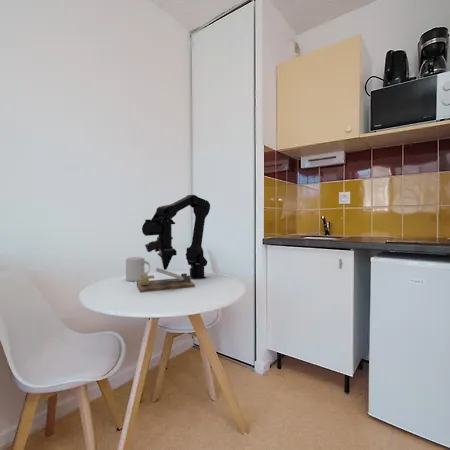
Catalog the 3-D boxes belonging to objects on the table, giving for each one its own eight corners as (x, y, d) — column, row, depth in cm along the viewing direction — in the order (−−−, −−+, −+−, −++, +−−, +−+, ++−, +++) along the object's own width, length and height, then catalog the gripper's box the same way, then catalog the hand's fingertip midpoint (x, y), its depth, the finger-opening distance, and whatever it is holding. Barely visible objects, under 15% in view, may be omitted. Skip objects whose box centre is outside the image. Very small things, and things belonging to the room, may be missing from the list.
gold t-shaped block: (152, 281, 125) (152, 274, 125) (154, 284, 120) (154, 276, 120) (140, 282, 123) (140, 275, 122) (141, 285, 118) (141, 277, 118)
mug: (153, 279, 138) (153, 257, 138) (130, 282, 130) (130, 259, 130) (146, 276, 144) (146, 255, 144) (123, 279, 137) (123, 257, 136)
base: (185, 280, 136) (185, 271, 136) (194, 286, 122) (194, 277, 122) (136, 284, 127) (136, 275, 127) (140, 292, 113) (140, 282, 113)
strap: (184, 279, 130) (185, 277, 130) (186, 281, 126) (187, 278, 126) (155, 270, 125) (156, 267, 125) (157, 271, 121) (158, 269, 121)
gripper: (143, 233, 129) (143, 267, 130) (149, 236, 112) (149, 275, 113) (167, 233, 134) (167, 265, 134) (176, 235, 117) (176, 272, 117)
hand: (165, 269), depth 124 cm, fingers closed
